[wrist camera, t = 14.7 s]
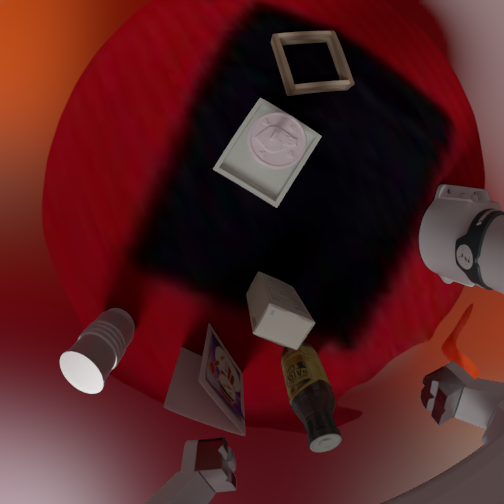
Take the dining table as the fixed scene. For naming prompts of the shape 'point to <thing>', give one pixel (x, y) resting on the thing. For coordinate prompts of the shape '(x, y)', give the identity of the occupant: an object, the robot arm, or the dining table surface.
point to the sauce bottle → (311, 396)
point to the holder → (311, 37)
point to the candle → (98, 350)
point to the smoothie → (276, 140)
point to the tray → (250, 171)
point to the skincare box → (277, 312)
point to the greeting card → (208, 387)
